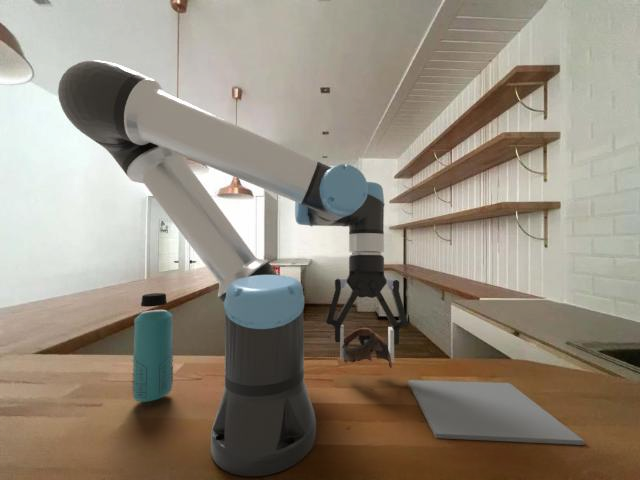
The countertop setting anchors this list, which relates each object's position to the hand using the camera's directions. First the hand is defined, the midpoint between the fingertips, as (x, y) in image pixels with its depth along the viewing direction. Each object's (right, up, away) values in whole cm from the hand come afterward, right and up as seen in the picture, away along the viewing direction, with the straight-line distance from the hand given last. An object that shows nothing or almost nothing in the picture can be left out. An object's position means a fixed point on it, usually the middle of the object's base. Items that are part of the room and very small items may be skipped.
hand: (366, 358), depth 58 cm
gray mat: (+18, -4, -11) cm, 21 cm away
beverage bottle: (-41, -5, -7) cm, 42 cm away
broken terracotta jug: (0, -1, -1) cm, 1 cm away
